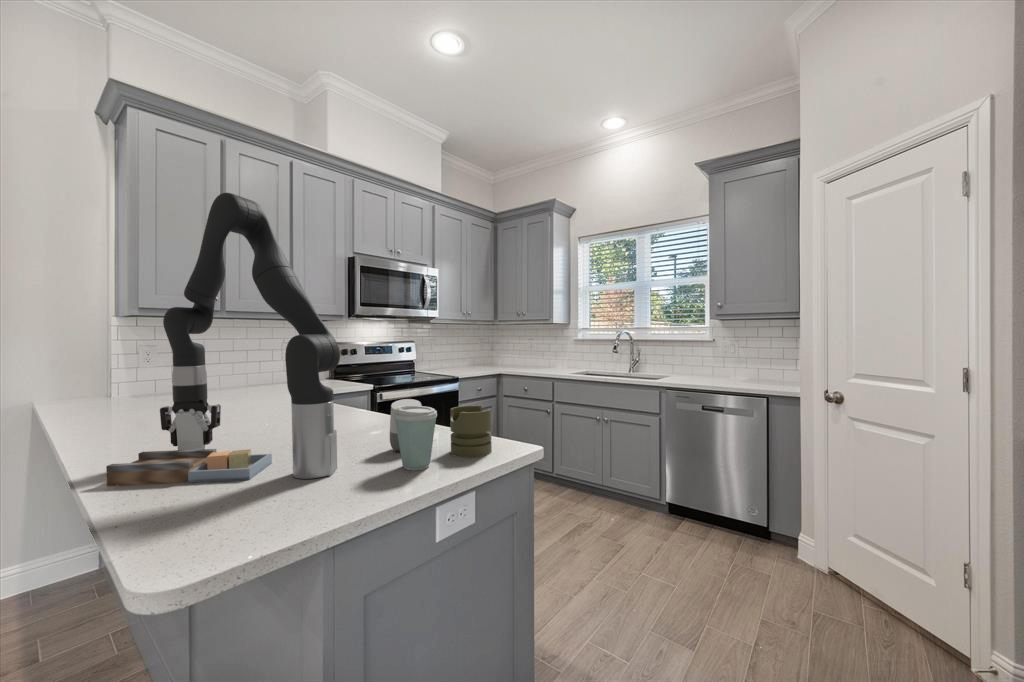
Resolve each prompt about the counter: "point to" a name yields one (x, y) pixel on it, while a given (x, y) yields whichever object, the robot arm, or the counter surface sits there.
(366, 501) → the counter surface
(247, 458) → the olive yellow cube
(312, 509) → the counter surface
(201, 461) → the slotted board
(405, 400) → the smart speaker
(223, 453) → the orange cube
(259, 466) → the tray
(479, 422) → the piston
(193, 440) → the skincare box
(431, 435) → the disposable coffee cup
